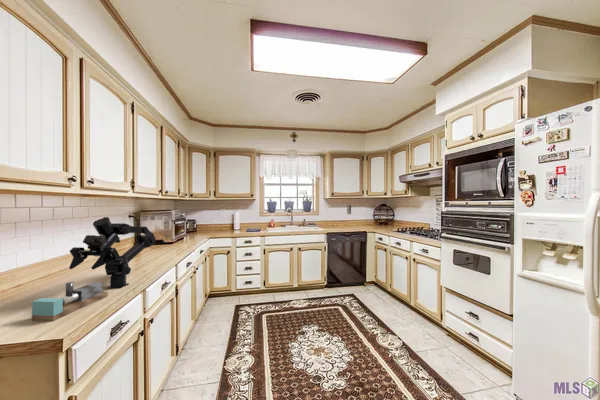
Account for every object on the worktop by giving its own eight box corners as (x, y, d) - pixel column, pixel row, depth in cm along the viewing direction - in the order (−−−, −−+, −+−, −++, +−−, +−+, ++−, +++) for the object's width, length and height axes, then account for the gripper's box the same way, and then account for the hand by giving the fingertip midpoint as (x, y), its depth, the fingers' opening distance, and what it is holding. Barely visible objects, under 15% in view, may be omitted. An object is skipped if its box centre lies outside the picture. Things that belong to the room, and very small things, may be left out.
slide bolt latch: (90, 295, 111) (91, 281, 111) (107, 296, 111) (108, 282, 111) (31, 320, 88) (32, 302, 88) (53, 320, 87) (53, 303, 88)
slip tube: (87, 293, 107) (87, 275, 107) (93, 294, 107) (94, 276, 107) (55, 306, 93) (56, 286, 94) (63, 306, 93) (63, 286, 93)
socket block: (41, 311, 91) (42, 297, 91) (62, 311, 91) (62, 298, 91) (31, 315, 88) (32, 301, 88) (53, 315, 87) (53, 301, 88)
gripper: (77, 229, 111) (47, 254, 98) (118, 229, 111) (94, 255, 98) (89, 247, 117) (62, 273, 105) (128, 247, 117) (106, 273, 105)
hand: (81, 268), depth 103 cm, fingers open, 9 cm apart
